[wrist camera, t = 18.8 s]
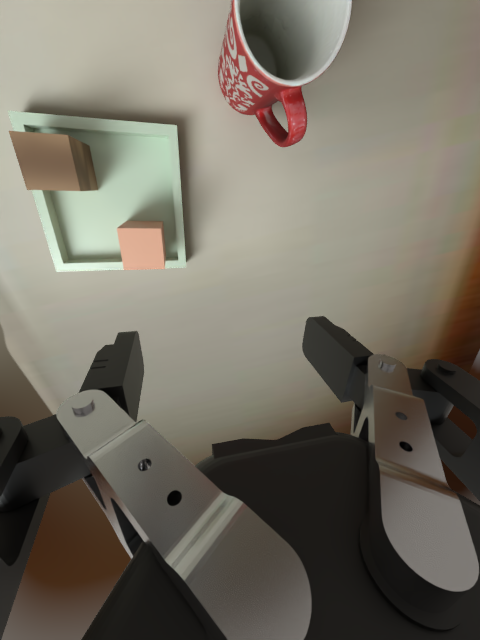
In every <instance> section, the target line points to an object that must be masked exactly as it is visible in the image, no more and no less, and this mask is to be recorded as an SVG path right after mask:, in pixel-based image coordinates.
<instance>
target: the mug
mask: <svg viewBox="0 0 480 640" xmlns="http://www.w3.org/2000/svg"><path fill="white" fill-rule="evenodd" d="M351 8H352V0H232V1H231V7H230V12H229V16H228V21H227V26H226V31H225V35H224V40H223V45H222V49H221V54H220V57H219V65H218V77H219V84H220V87H221V90H222V93H223V95H224V97H225V99H226V100H227V102H228V103H229V104H230V106H232V108H233V109H235V110H236V111H238V112H240V113H242V114H245V115H256V117H257V119H258V120H259V122H260V124H261V126H262V127H263V129H264V130H265V132H266V133H267V134H268V136H269V137H270V138H271V139H272V141H273V142H274V143H275V144H277V145H278V146H280V147H288V146H291V145H293V144H295V143H297V142H299V141H300V140H301V139H302V138H303V136H304V134H305V132H306V127H307V112H306V107H305V102H304V99H303V96H302V91H301V87H302V85H305V84H308V83H310V82H312V81H313V80H315V79H316V78H318V77H319V76H320V75H321V74H322V73H324V72H325V70H326V69H327V68H328V67H329V66H330V65H331V63H332V62H333V61H334V59H335V58H336V56H337V54H338V52H339V50H340V48H341V46H342V44H343V41H344V39H345V36H346V33H347V29H348V26H349V21H350V16H351ZM277 101H280V102H281V103H282V104H283V107H284V109H285V112H286V116H287V120H288V132H287V131H286V130H285V129H284V128H283V127H282V126H281V124H280V123H279V122H278V121H277V119H276V118H275V116H274V114H273V112H272V104H274V103H275V102H277Z"/></svg>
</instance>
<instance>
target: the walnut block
mask: <svg viewBox="0 0 480 640" xmlns="http://www.w3.org/2000/svg"><path fill="white" fill-rule="evenodd" d="M9 133H10V136H11V140H12V143H13V146H14V149H15V152H16V156H17V159H18V162H19V165H20V168H21V172H22V175H23V178H24V181H25V184H26V188H27V190H55V191H96V190H98V186H97V181H96V176H95V171H94V166H93V161H92V156H91V151H90V146H89V145H87V144H85V143H83V142H81V141H79V140H77V139H75V138H73V137H71V136H69V135H63V134H48V133H34V132H19V131H9Z"/></svg>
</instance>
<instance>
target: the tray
mask: <svg viewBox="0 0 480 640" xmlns="http://www.w3.org/2000/svg"><path fill="white" fill-rule="evenodd" d="M8 114H9V117H10V120H11V124H12V127H13V130H14V131H19V132H34V133H48V134H63V135H69V136H71V137H73V138H75V139H77V140H79V141H81V142H83V143H85V144H87V145H89V146H90V151H91V156H92V161H93V166H94V171H95V176H96V181H97V186H98V190H96V191H55V190H32V193H33V196H34V199H35V203H36V206H37V209H38V213H39V216H40V219H41V222H42V226H43V229H44V232H45V236H46V239H47V242H48V245H49V249H50V252H51V255H52V259H53V262H54V265H55V268H56V272H61V271H92V270H123V269H124V268H123V262H122V256H121V251H120V245H119V239H118V233H117V228H118V227H119V226H120V225H122V224H123V223H124V222H126V221H163V227H164V237H165V248H166V262H165V268H185V267H186V256H185V241H184V226H183V210H182V195H181V180H180V165H179V150H178V135H177V125H169V124H157V123H145V122H134V121H122V120H110V119H99V118H87V117H75V116H64V115H52V114H40V113H29V112H17V111H8Z"/></svg>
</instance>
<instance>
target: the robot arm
mask: <svg viewBox="0 0 480 640" xmlns="http://www.w3.org/2000/svg"><path fill="white" fill-rule="evenodd" d="M302 348H303V353H304V355H305V357H306V358H307V359H308V361H309V362H310V363H311V364H312V366H313V367H314V368H315V370H316V371H317V372H318V373H319V375H320V376H321V377H322V378H323V380H324V381H325V382H326V384H327V385H328V386H329V387H330V389H331V390H332V391H333V393H334V394H335V395H336V396H337V398H338V399H339V400H340V401H341V402H347V401H353V402H354V405H353V409H352V422H351V435H348V434H344V433H338V432H335V431H334V429H333V428H332V426H331V425H330V423H326V424H320V425H315V426H309V427H304V428H301V429H299V430H297V431H295V432H293V433H291V434H289V435H286V436H284V437H282V438H280V439H278V440H262V439H238V440H233V441H227V442H222V443H217V444H212V456H209V457H207V458H206V459H204V460H202V461H201V462H199V463H198V464H197V465H196V466H194V465H193V464H192V463H191V462H190V461H189V460H188V459H187V458H186V457H185V456H183V455H182V454H181V453H180V452H179V451H178V450H177V449H176V448H175V447H174V446H173V445H172V444H171V443H170V442H169V441H167V440H166V439H165V438H164V437H163V436H162V435H161V434H160V433H159V432H158V431H157V430H156V429H155V428H154V427H153V426H151V425H150V424H149V423H148V422H147V421H145V420H141V421H139V422H138V423H136V421H137V414H138V408H139V401H140V395H141V388H142V382H143V375H144V364H143V357H142V351H141V345H140V340H139V334H138V332H137V331H132V332H119V333H118V335H117V338H116V340H115V343H114V344H113V345H105V346H104V347H103V348H102V349H101V350H100V351H98V352H97V354H96V356H95V358H94V360H93V363H92V365H91V367H90V369H89V371H88V374H87V376H86V378H85V380H84V382H83V385H82V387H81V389H80V391H79V393H77V394H75V395H73V396H71V397H69V398H68V399H66V400H65V401H64V402H63V403H62V404H61V405H60V406H59V408H58V410H57V413H56V414H55V415H53V416H51V417H48V418H45V419H42V420H39V421H36V422H34V423H31V424H28V425H25V426H23V425H22V423H21V421H20V420H19V419H18V418H15V417H0V640H1V638H2V635H3V632H4V629H5V626H6V624H7V621H8V618H9V614H10V612H11V608H12V605H13V602H14V600H15V597H16V594H17V591H18V588H19V585H20V582H21V579H22V576H23V573H24V570H25V567H26V564H27V561H28V558H29V555H30V552H31V549H32V546H33V543H34V540H35V537H36V534H37V531H38V528H39V525H40V523H41V520H42V517H43V513H44V511H45V508H46V505H47V502H48V498H49V496H50V493H51V492H53V491H55V490H58V489H60V488H61V487H64V486H66V485H68V484H70V483H73V482H75V481H77V480H79V479H81V478H82V479H83V480H84V482H85V483H86V485H87V487H88V488H89V490H90V491H91V493H92V494H93V496H94V497H95V498H96V500H97V502H98V503H99V505H100V506H101V508H102V510H103V511H104V513H105V514H106V516H107V517H108V519H109V521H110V522H111V524H112V526H113V528H114V530H115V532H116V534H117V536H118V538H119V539H120V541H121V543H122V544H123V546H124V548H125V549H126V551H127V553H128V554H129V556H130V557H131V561H130V562H129V564H128V566H127V567H126V569H125V571H124V572H123V574H122V575H121V577H120V579H119V580H118V582H117V583H116V585H115V586H114V588H113V590H112V591H111V593H110V595H109V596H108V598H107V599H106V601H105V603H104V604H103V606H102V607H101V609H100V610H99V612H98V614H97V615H96V617H95V618H94V620H93V622H92V623H91V625H90V627H89V629H88V630H87V631H86V633H85V635H84V636H83V638H82V639H81V640H480V505H478V504H476V503H474V502H472V501H471V500H469V499H467V498H466V497H464V496H462V495H460V494H459V493H457V492H455V491H453V490H452V489H450V488H449V486H448V485H447V482H446V479H445V476H444V472H443V468H442V464H441V461H440V458H441V460H442V461H444V463H445V464H446V465H447V466H448V467H449V468H450V469H451V470H452V471H453V473H454V474H455V475H456V476H457V477H458V478H459V479H460V480H461V481H462V482H463V483H464V484H465V485H466V487H467V488H468V489H469V490H470V491H471V492H472V493H473V494H474V495H475V496H476V497H477V499H478V500H479V501H480V381H479V380H478V379H476V378H475V377H473V376H472V375H470V374H469V373H467V372H466V371H464V370H463V369H461V368H460V367H458V366H456V365H454V364H452V363H449V362H446V361H442V360H437V359H431V360H427V361H426V362H425V364H424V366H423V369H422V370H419V369H409V368H406V366H405V365H404V364H403V363H402V362H400V361H399V360H397V359H395V358H393V357H390V356H387V355H381V354H375V355H374V354H373V353H372V352H370V351H369V350H368V349H367V348H366V347H364V346H363V345H362V344H361V343H360V342H358V341H356V339H355V338H354V337H352V336H351V335H350V334H349V333H348V332H346V331H345V330H344V329H342V328H340V327H338V326H336V325H334V324H333V323H332V322H330V321H329V320H328V319H327V318H326V317H324V316H319V317H309V318H308V319H307V321H306V326H305V332H304V338H303V344H302ZM453 405H454V406H456V407H457V408H458V409H460V410H461V411H462V412H463V413H464V414H465V415H467V416H468V417H469V418H470V419H471V420H472V421H473V422H474V423H475V425H476V428H477V434H476V436H475V438H474V439H473V440H472V439H471V438H470V437H469V436H467V435H466V434H465V433H464V432H463V431H462V430H461V429H460V428H458V427H457V426H456V425H455V424H454V423H453V422H452V421H450V419H448V418H447V416H448V414H449V412H450V411H451V409H452V407H453Z"/></svg>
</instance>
